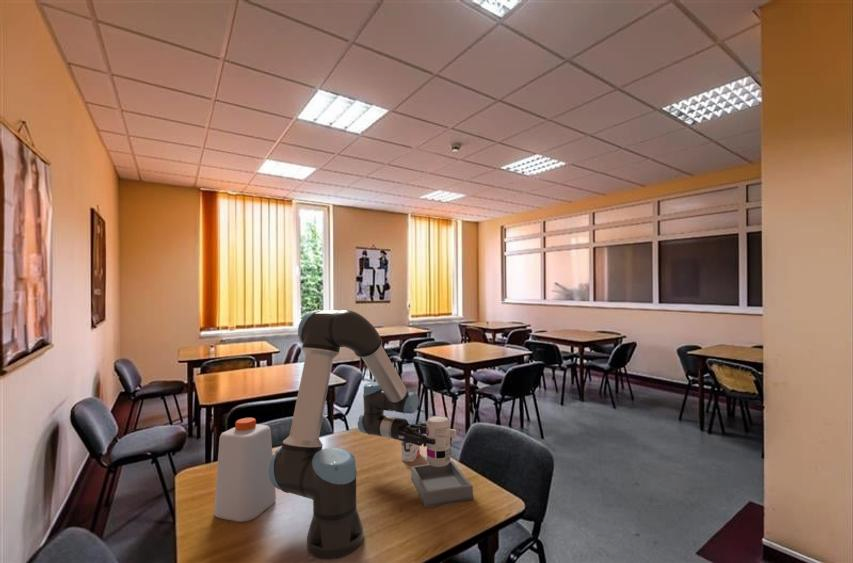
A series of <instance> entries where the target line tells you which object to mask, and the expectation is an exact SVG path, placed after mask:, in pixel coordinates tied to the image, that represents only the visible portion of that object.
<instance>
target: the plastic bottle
mask: <svg viewBox="0 0 853 563" xmlns="http://www.w3.org/2000/svg"><path fill="white" fill-rule="evenodd" d="M234 424H235V425H234V426H235V427H231V428H230V429H228V430H226V431H224V432H222V433H221V434H220V436H219V441H218V454H217V468H216V470H217V471H216V480H215V481H216V484H215V494H214V495H215V497H214V509H213V513H214V515H215V517H216V518H219V519H222V520H227V521H232V522H238V523H244V522H249V521H251V520H254V519H255V518H257V517H258V516H260V515H261V514H262V513H264V512H265V511H266V510H267V509H268V508H270V507H271V506H273V504H274V503H275V502H276V500H277V493H276V487H274V486H273V484H272V483H271V481H270V479H269V463H270V460H271V458H272V456H273V455H274V454H273V444H272V432H271V431H272V430H271V427H270V426H269V425H267V424H259V423H257V420H256V418H254V417H244V418H240V419H237V420H236V421H235V423H234Z"/></svg>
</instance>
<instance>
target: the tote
mask: <svg viewBox="0 0 853 563" xmlns="http://www.w3.org/2000/svg"><path fill="white" fill-rule="evenodd" d="M410 474H411V475H410V476H411V481H412V483H413V484H414V487H415V489H416V491H417V493H418V495H419V497H420V500H421V502H422V504H423V506H424V508H425V509H429V508H433V507H440V506H447V505H452V504H457V503H462V502H469V501H474V488H473V487H474V486H473V484H472V483H471V482H470V480H469V479H468V478H467V477H466V476H465V474H464V473H463V472H462V471H461V469H460V468H459V467H458V465H457V464H456V463H455V462H454V461H453V460H451V461H450V463H449V464H448V465H446V466H443V467H435V466H432V465H430V464H429V463H426V464H420V465H412V466H411V467H410Z"/></svg>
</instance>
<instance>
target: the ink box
mask: <svg viewBox="0 0 853 563" xmlns="http://www.w3.org/2000/svg"><path fill="white" fill-rule="evenodd" d="M400 443H401V461H402V462H406V463H408V462H409V463H414V461H415V460H416V459H417V458H418V457H419V455H420V454H421V453H420V451H421V449H420V447H421V446H418V445H415V444H412V443H409V442H405V441H401V442H400Z"/></svg>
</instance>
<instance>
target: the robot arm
mask: <svg viewBox="0 0 853 563" xmlns="http://www.w3.org/2000/svg"><path fill="white" fill-rule="evenodd" d="M297 335H298V336H299V337H298V338H299V339H298V340H299V341H300V343H302V348H301V350H302V351H303V353H304V354H305V357H304V362H303V368H302V372H301V377H300V383H299V387H298V391H297V392H298V393H297V396H296V401H295V407H294V411H293V417H292V421H291V427H290V431H289V435H288V436H287V437H286V438H285V439H284V440H283V441H282V445H281V446H280V447H279V448H277V449H276V451H275V452H274V454H273V456H272V458H271V460H270V463H269V479H270V481H271V483H272V484H273V486H274V487H275V489H277V490H280V491H282V492H284V493H286V494H292V495H296V496H299V497H303V498H307V499H310V500H312V501H313V502H312V507H313V508H312V510H313V511H312V513H313V514H312V518H311V522H310V524H309V528H308V531H307V535H306V548H307V551H308V553H309V554H311V555H312V556H313V557H315V558H316V557H317V558H319V559H325V560H327V559H337V558H341V557H344V556H347V555H349V554H351V553H352V552H355V550H357V549H358V548H359V547H360V545H361V544H362V543H363V540H364V526H363V524H362V520H361V517H360V514H359V512H358V509H357V475H358V474H357V473H358V472H357V467H356V465H357V464H356V463H357V462H356V458H355V456H354V455H353V454H352V452H350V451H348V450H347V449H344V448H340V447H333V448H332V447H328V448H327V447H326V448H323V446H324V444H323V442H322V441H321V439H320V435H321V434H320V432H321V428H322V422H323V416H324V411H325V406H326V401H327V400H326V399H327V394H328V390H329V385H330V384H329V383H330V378H331V372H332V367H333V363H334V359H335V358H336V357H337V356H339V354H340V351H341V350H340V349H341V348H346V349H349V350H351V351H353V353H354V354H355V356H357V357H358V358H361V360H363V362H364V364H365V366H366V367H367V368H368V370H369V372H370V373H371V375H372V377H373V378H374V379H375V381H370V382H367V383H366V384H364V386H363V395H362V397H363V413H361V414H360V415H359V416H358V421H357V428H358V430H359V431H360V432H361V433H363V434H367V435H371V436H377V437H383V438H387V439H388V440H390V439H392V440H396V441H405V442H409V443H412V444H415V445H418V446H420V447H422V446H423V447H424V448H425V447H426V448H427V444H430V445H435V446H440V447H445V438H440V437H435V436H429V435H428V436H427V430H426V423H427V422H420V421H417V422H416V424H415V423H409V421H408V420H407V419H406V418H402V417H396V416H390V415H384V412H385V411H388V412H395V413H401V414H414V413H416V412H417V410H418V407H419V403H420V400H419V395H418V394H417V393H415V392H412V391H408V389H407V387H406V386H405V384H404V382H403V381H402V379H401V377H400V375H399V373H398V371H397V370H396V368H395V366H394V365H393V363H392V362H391V360H390V358H389V356H388V354H387V353H386V350H385V349H384V347H383V345H382V343H383V339H382V337H381V335H380V334H379V332H378V331H377V329H376V328H375V326H374V325H373V324H372V323H371V322H370V321H369V320H368V319H366V317H365V316H362V314H360V313H358V312H356V311H354V310H349V309H343V310H342V309H340V310H339V309H337V310H336V309H317V310H312V311H309V312H308V313H306V314H305V315H304V316H303V317H302V318H301V320H300V322H299V324H298V329H297ZM450 439H457V429H452V428H450Z"/></svg>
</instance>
